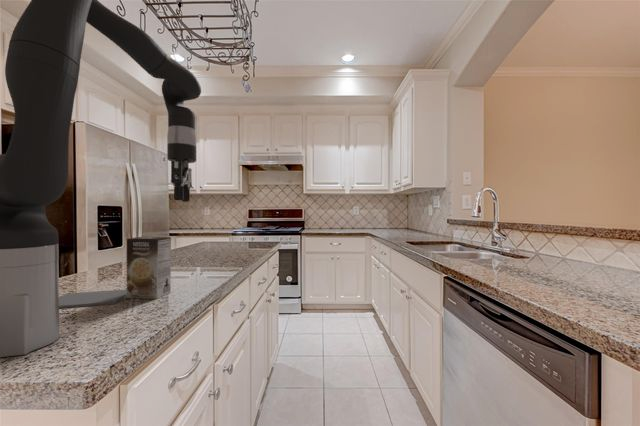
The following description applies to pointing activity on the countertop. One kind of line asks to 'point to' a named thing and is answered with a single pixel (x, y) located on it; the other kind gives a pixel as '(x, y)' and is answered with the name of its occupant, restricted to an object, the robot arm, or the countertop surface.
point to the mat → (91, 298)
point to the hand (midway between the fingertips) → (182, 201)
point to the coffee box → (148, 267)
